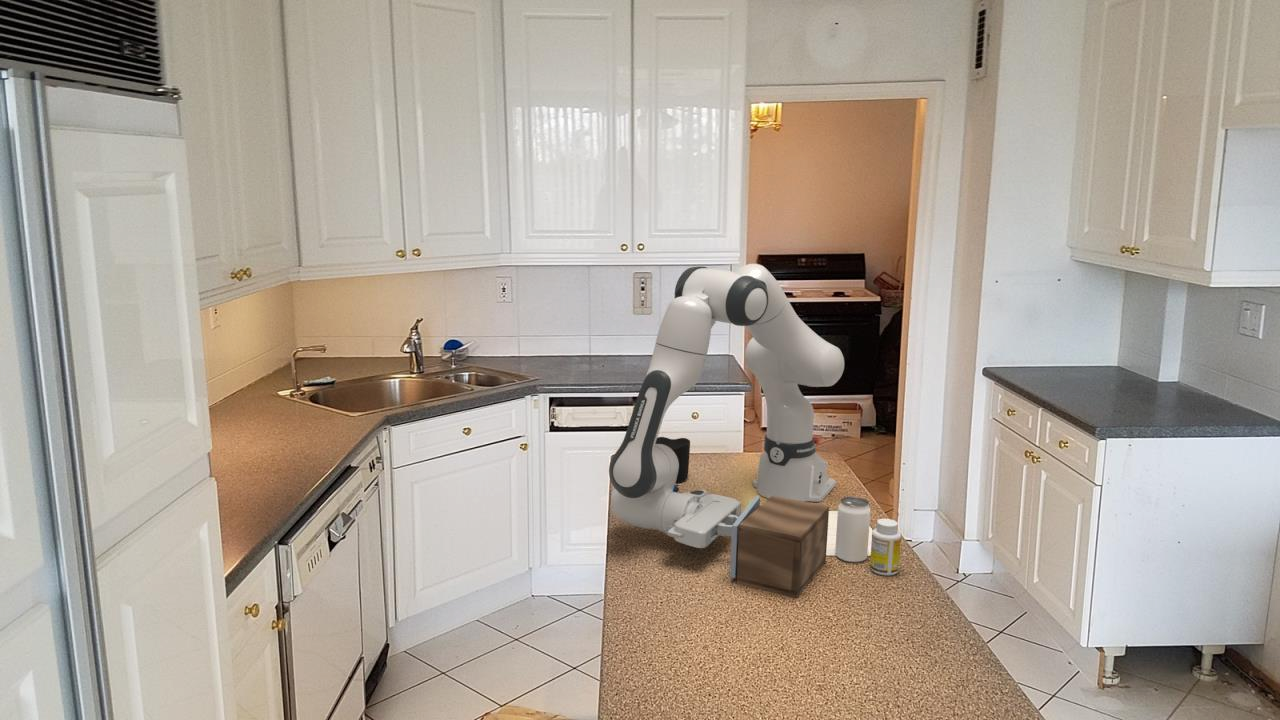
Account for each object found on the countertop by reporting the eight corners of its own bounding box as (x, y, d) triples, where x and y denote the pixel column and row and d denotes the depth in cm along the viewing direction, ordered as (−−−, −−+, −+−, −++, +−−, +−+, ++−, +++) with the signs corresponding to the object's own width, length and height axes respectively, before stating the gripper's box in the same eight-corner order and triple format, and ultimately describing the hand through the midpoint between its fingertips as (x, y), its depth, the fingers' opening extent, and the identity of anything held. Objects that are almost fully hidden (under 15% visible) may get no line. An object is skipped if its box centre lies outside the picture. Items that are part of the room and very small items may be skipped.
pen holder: (671, 470, 239) (671, 433, 237) (696, 479, 232) (697, 441, 230) (644, 477, 233) (645, 440, 231) (670, 487, 226) (671, 448, 224)
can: (843, 547, 191) (847, 493, 189) (872, 556, 187) (876, 500, 185) (829, 557, 186) (832, 501, 184) (858, 566, 182) (862, 509, 180)
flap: (753, 543, 190) (755, 496, 188) (758, 544, 190) (760, 496, 187) (730, 577, 174) (732, 525, 172) (735, 578, 174) (737, 526, 171)
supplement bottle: (894, 564, 183) (897, 517, 181) (901, 577, 178) (905, 527, 176) (866, 564, 183) (869, 516, 181) (873, 576, 178) (876, 527, 176)
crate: (769, 550, 189) (772, 495, 187) (825, 562, 184) (829, 506, 181) (736, 583, 174) (739, 524, 171) (797, 597, 168) (800, 537, 166)
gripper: (661, 517, 180) (726, 532, 173) (703, 486, 197) (763, 498, 191) (660, 547, 181) (724, 562, 175) (702, 513, 199) (762, 526, 192)
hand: (745, 528), depth 183 cm, fingers closed
